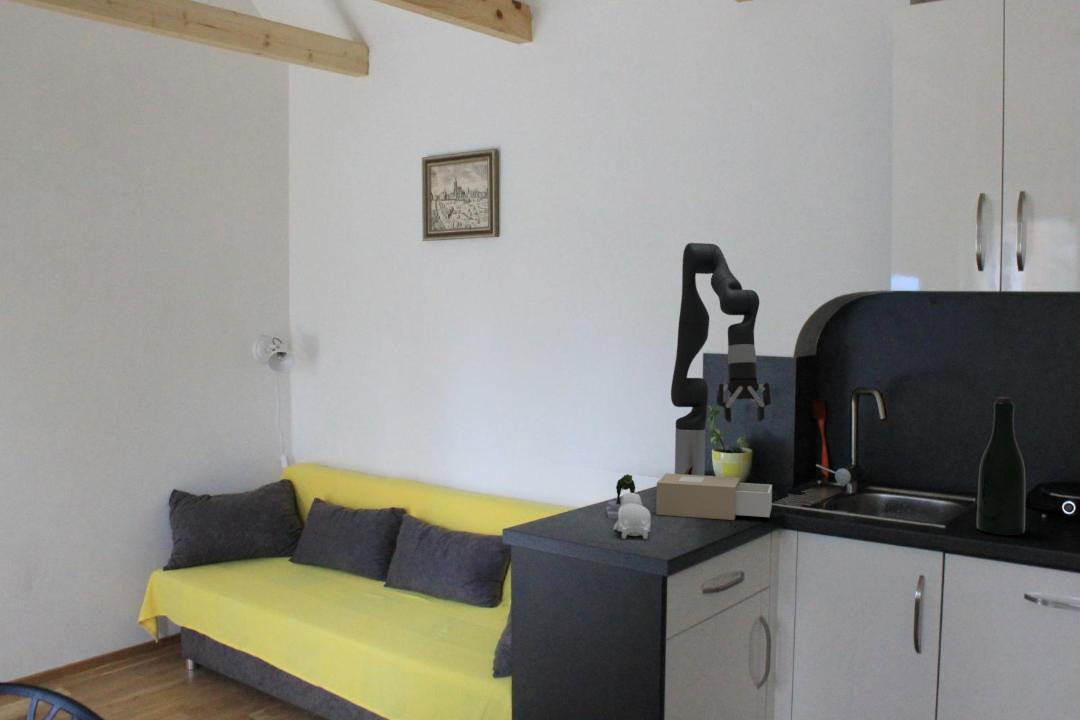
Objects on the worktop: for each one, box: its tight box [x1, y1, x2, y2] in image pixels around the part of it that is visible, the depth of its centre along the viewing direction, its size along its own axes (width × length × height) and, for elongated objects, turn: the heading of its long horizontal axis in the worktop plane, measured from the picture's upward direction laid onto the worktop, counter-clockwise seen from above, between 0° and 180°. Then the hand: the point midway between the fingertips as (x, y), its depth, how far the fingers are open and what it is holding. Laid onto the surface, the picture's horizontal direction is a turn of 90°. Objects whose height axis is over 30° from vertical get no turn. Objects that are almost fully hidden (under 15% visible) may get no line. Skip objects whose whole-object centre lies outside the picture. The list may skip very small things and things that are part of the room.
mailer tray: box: [735, 482, 773, 518], centre depth 241 cm, size 14×19×6 cm
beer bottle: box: [976, 396, 1026, 535], centre depth 223 cm, size 10×10×33 cm
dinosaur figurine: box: [605, 473, 644, 520], centre depth 239 cm, size 9×20×12 cm, turn 179°
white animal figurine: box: [613, 492, 652, 540], centre depth 218 cm, size 9×8×15 cm
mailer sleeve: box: [655, 472, 741, 521], centre depth 244 cm, size 16×20×8 cm
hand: (744, 421), depth 248 cm, fingers open, 8 cm apart
